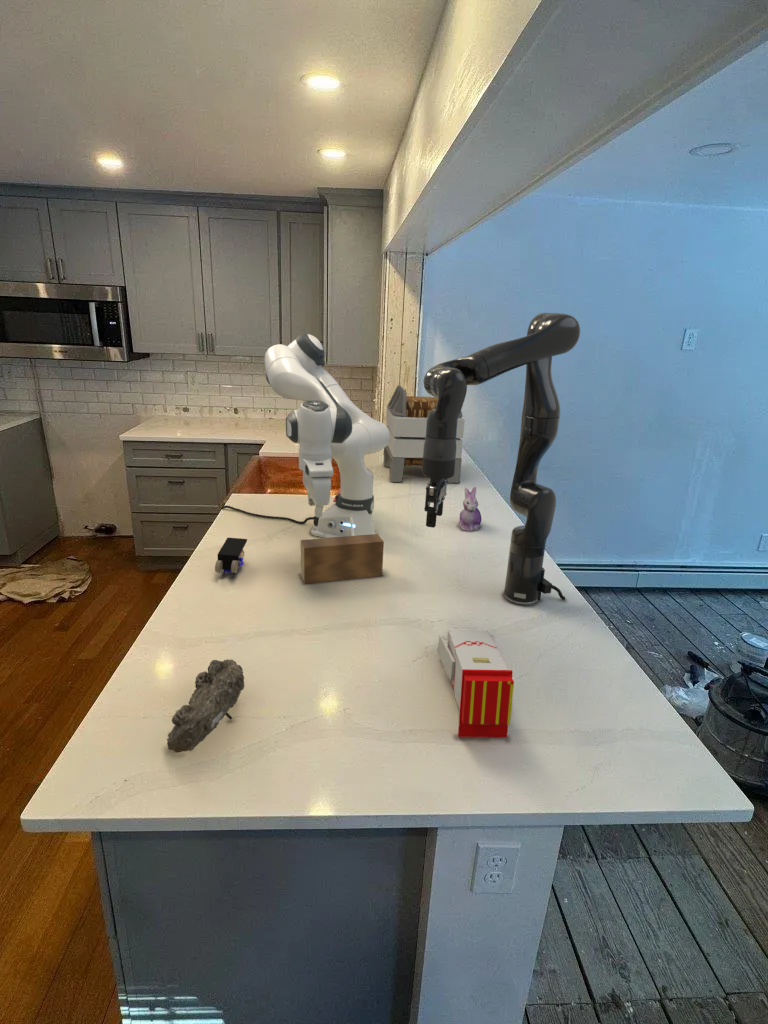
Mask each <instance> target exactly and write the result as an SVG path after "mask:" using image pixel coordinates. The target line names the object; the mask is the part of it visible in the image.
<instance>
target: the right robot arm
mask: <svg viewBox="0 0 768 1024" xmlns="http://www.w3.org/2000/svg"><path fill="white" fill-rule="evenodd" d="M580 336H581V325H580V323H579V321H578V320H577V319H576V318H575V317H574V316H572V315H570V314H568V313H559V312H558V313H557V312H541V313H540V312H539V313H538V314H536V315H535V316H533V318H532V319H531V321H530V322H529V324H528V328H527V332H526V335H525V336H523V337H519V338H515V339H510V340H507V341H501V342H498V343H494V344H491V345H488V346H486V347H483V348H481V349H479V350H477V351H474V352H473V353H472V352H471V353H470V354H468V355H466V356H463V357H459V358H458V357H457V358H455V359H451V360H447V361H443V362H440V363H438V364H435V365H434V366H432V367H431V368H430V369H428V370H427V371H426V373H425V375H424V377H423V381H422V383H423V388H424V390H425V391H426V393H427V394H428V395H430V396H431V397H437V398H438V402H437V406H436V409H433V410H431V411H430V412H429V413H428V415H427V424H426V436H425V442H424V450H423V465H422V466H421V473H422V475H423V476H425V477H428V478H429V479H430V480H429V482H428V483H427V485H426V487H425V501H424V512H426V519H425V526H426V527H427V528H436V526H437V517H441V516H442V515H443V510H444V501H445V500H446V496H447V489H448V488H447V486H448V482H447V478H451V477H453V475H454V470H455V459H456V447H457V446H456V435H457V423H458V417H459V414H460V412H462V409H463V406H464V402H465V400H466V397H467V392H468V386H478V385H481V384H484V383H486V382H488V381H491V380H493V379H495V378H497V377H499V376H501V375H504V374H506V373H508V372H510V371H512V370H515V369H518V368H520V367H523V366H526V367H525V382H524V395H523V405H522V412H521V420H520V431H519V432H520V433H519V440H518V441H519V443H518V449H517V457H516V463H515V469H514V474H513V478H512V482H511V483H512V484H511V487H510V492H509V503H510V504H509V505H510V507H511V509H512V510H513V511H514V512H516V513H517V514H520V515H522V516H524V517H526V520H525V525H517V526H515V527H514V528H513V529H512V531H511V535H510V543H509V552H508V559H507V565H506V574H505V582H504V588H503V598H504V599H505V600H506V601H508V602H510V603H512V604H515V605H520V606H531V605H534V604H536V603H538V602H539V601H541V599H542V594H544V595H547V594H551V593H552V590H554V591H555V592H557V594H558V596H559V599H561V600H562V601H565V600H566V596H565V595H563V592H562V590H561V589H560V588H559V587H557V586H556V585H554V584H553V583H552V582H550V581H549V580H547V579H546V578H545V573H546V572H545V571H546V569H545V567H543V564H544V558H545V552H546V545H547V540H548V537H549V535H550V533H551V531H552V526H553V521H554V516H555V511H556V508H557V496H556V493H555V491H554V490H553V489H552V488H550V487H548V486H545V485H543V484H540V483H537V482H538V481H537V478H538V477H537V476H538V471H539V466H540V463H541V460H542V459H543V457H544V456H545V455H546V453H547V452H548V450H549V449H550V448H551V446H552V445H553V443H554V442H555V440H556V439H557V436H558V432H559V427H560V419H561V418H560V416H561V404H560V400H559V397H558V392H557V390H556V387H555V383H554V381H553V376H552V364H553V357H556V356H560V355H563V354H567V353H568V352H571V350H573V349H574V348H575V347H576V345H577V344H578V342H579V340H580ZM431 504H433V506H431Z"/></svg>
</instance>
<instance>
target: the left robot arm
mask: <svg viewBox="0 0 768 1024" xmlns="http://www.w3.org/2000/svg"><path fill="white" fill-rule="evenodd" d="M325 356H326V355H325V349H324V346H323V344H322V343H321V341H320V340H319V339H318V338H317V337H316V336H314V335H312V334H311V333H309V332H303V333H300V334H299V335H297V336H296V337H295V339H294V340H292V341H291V342H290V343H289V344H288V345H286V344H274V345H271V346H270V347H269V348H267V350H266V351H265V354H264V368H265V380H266V382H267V384H268V385H269V386H270V387H271V388H272V390H273V392H274V393H276V395H278V396H279V397H280V398H281V397H282V399H283V398H284V399H287V400H294V401H301V402H302V403H300V405H299V406H300V407H299V408H297V409H292V410H291V411H290V412H289V413H288V415H287V416H286V417H285V436H286V437H287V439H289V440H290V441H291V442H293V443H294V444H299V448H298V469H299V470H300V471H301V472H302V485H303V487H304V488H305V490H306V492H307V493H306V494H307V500H308V506H310V507H315V508H314V515H313V516H309V517H306V518H305V519H304V520H303V521H300V520H299V521H298V520H295V519H293V518H292V517H291V518H290V517H286V516H273V515H264V514H258V513H253V512H249V511H245V510H243V509H240V508H236V507H233V506H231V505H223V506H221V508H220V510H224V509H230V510H233V511H236V512H240V513H242V514H245V515H248V516H252V517H258V518H263V519H272V520H284V521H290V522H292V523H295V524H298V525H304V524H306V523H307V522H308V521H311V520H312V521H313V526H312V528H311V530H310V533H311V536H315V537H318V538H332V537H345V536H358V535H371V534H377V532H376V528H375V523H374V513H373V512H374V509H375V496H374V473H373V471H372V470H371V469H369V468H368V467H366V465H365V459H364V458H365V456H368V455H372V454H375V453H378V452H380V451H382V450H384V448H385V447H386V446H387V445H388V443H389V439H390V434H389V430H388V428H387V427H386V426H387V424H385V423H384V422H383V421H378V420H376V419H375V418H373V417H371V416H370V415H368V414H367V413H365V412H364V411H363V410H362V409H360V408H359V407H358V406H357V405H355V404H354V403H353V401H352V400H351V399H350V397H349V396H348V395H347V394H346V392H345V391H344V389H343V388H342V387H341V386H340V384H339V383H338V382H337V381H336V379H335V378H334V377H333V376H332V375H331V374H330V373H329V372H328V371H327V370H326V369H325V368H324V366H325V365H326V361H325ZM322 367H323V368H322ZM333 460H334V462H335V463H336V465H337V468H338V470H339V478H340V480H339V481H340V484H339V485H340V488H339V489H340V490H339V491H338V492H337V494H336V495H335V496H334V497H333V502H334V504H333V505H331V506H329V507H328V508H326V509H325V510H324V508H325V507H324V506H328V505H329V503H330V500H331V488H332V477H333V476H334V467H333Z"/></svg>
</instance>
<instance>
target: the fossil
mask: <svg viewBox="0 0 768 1024" xmlns="http://www.w3.org/2000/svg"><path fill="white" fill-rule="evenodd" d="M243 670H244V669H243V667H242V665H240V664H237V662H236V661H235V660H234V659H232V658H231V659H227V658H226V659H224V660H223V661H222V660H217V659H212V660H211V661H210V663H209V665H208V666H207V671H201V672H199V673H198V674H197V675H196V676H195V680H194V684H195V685H194V687H195V689H194V690H193V693H192V694H191V697H190V698H189V700H188V704H184V705H182V706H181V707H180V709H177V710H176V711H175V713H174V715H173V716H172V718H171V723H172V724H173V727H172V730H171V731H170V732H168V734H167V738H166V741H167V742H166V745H167V749H168V750H169V751H173V752H174V753H176V754H178V753H182V752H188V751H189V752H192V751H193V750H195V748H196V747H197V746H199V744H200V743H201V742H203V741H204V740H205V739H206V738H207V737H208V736H209V735H210V734H211V733H212V732H214V730H215V729H217V727H218V726H219V724H220V722H221V721H222V720H223V719H224V718H225V716H226V717H227V719H229V720H233V717H232V715H230V714H229V710H230V709H231V708H234V706H235V704H236V703H237V702H238V699H239V697H240V695H241V693H242V691H243V690H245V689H244V688H245V675H244V671H243Z"/></svg>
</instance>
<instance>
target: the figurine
mask: <svg viewBox="0 0 768 1024" xmlns="http://www.w3.org/2000/svg"><path fill="white" fill-rule="evenodd" d="M476 494H477V487H476V486H474V487H473V488H472V489H471V491H470V490H469V488H467V487H464V499H463V501H462V506H463V509H462V510H461V511H460V513H459V521H458V527H459V528H460V529H461V530H463V531H469V532H472V531H476V530H478V529H479V528H481V523H482V514H481V512H480V510H479V508H478V507H479V501H478V498H477V497H476Z"/></svg>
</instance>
